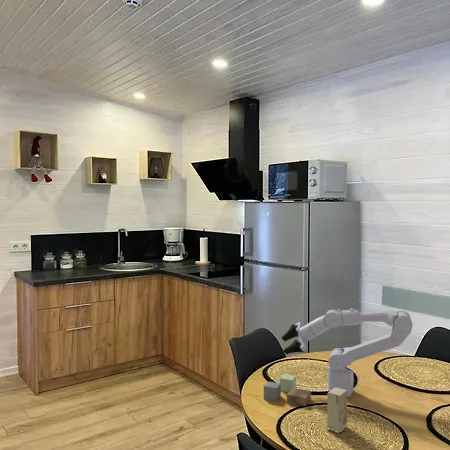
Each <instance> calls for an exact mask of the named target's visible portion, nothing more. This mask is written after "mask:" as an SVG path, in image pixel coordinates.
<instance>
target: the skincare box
mask: <svg viewBox="0 0 450 450" xmlns="http://www.w3.org/2000/svg"><path fill="white" fill-rule="evenodd" d="M326 405H327V411H326V412H327V415H326V416H327V417H326V419H327V420H326V421H327V422H326V423H327V427H326V429H327V428H329V429H332V430H335V431H338V432H340V431H341V430H342V429H343V428H344V427H345V426H346V425H347V426H348V397H347V390H344V389H340V388H337V387H335V388H333V389H332V390H331V391H329V392H328V393H327V404H326Z"/></svg>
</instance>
